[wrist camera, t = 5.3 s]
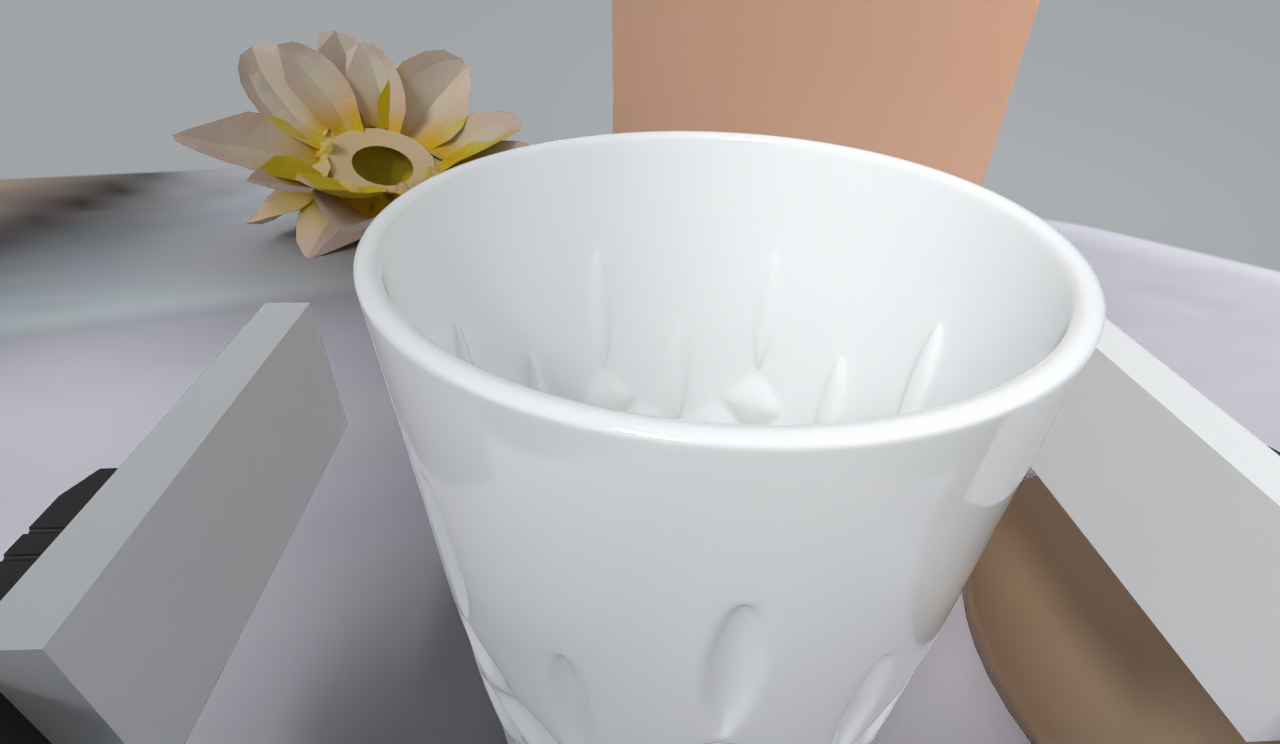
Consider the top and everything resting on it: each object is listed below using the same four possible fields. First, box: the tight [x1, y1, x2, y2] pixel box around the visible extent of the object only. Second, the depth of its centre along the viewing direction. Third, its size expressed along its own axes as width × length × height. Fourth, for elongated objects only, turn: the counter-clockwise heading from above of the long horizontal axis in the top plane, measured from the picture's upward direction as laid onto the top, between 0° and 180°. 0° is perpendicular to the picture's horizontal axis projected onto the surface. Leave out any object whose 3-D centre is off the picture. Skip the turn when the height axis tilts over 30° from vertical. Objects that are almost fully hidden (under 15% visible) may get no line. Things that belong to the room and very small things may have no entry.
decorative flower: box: [172, 31, 529, 258], centre depth 29 cm, size 15×11×10 cm
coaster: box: [963, 476, 1280, 744], centre depth 14 cm, size 11×11×1 cm
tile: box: [612, 0, 1040, 186], centre depth 21 cm, size 12×2×14 cm, turn 93°
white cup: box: [353, 131, 1106, 744], centre depth 10 cm, size 8×8×10 cm
